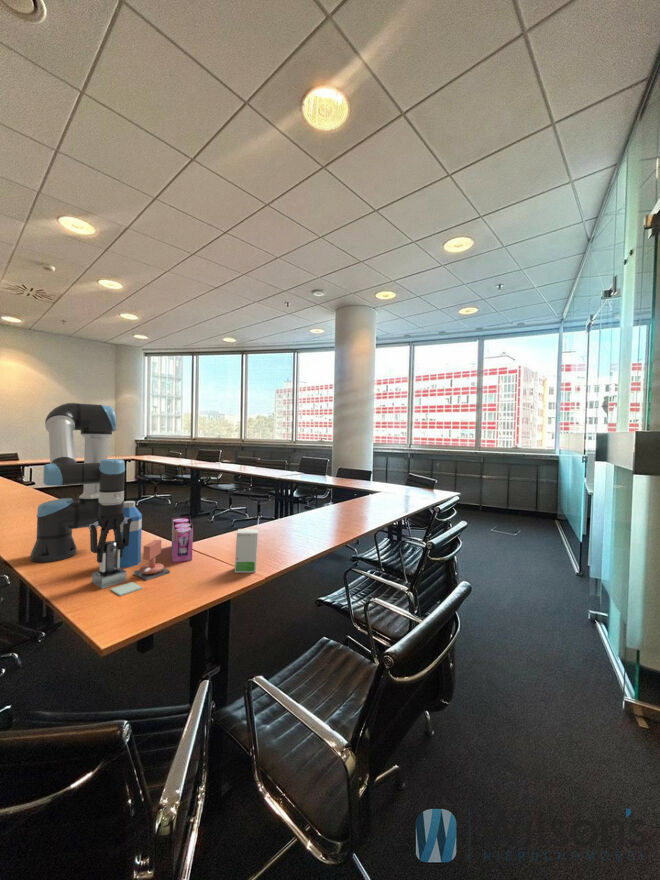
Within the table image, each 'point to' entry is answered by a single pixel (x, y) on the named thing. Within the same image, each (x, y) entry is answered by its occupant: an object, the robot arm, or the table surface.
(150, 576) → the wheel base
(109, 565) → the hook peg
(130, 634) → the table surface
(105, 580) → the block
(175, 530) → the gum box
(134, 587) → the mat
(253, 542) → the skincare box
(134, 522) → the water bottle
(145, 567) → the pink block-head stand
